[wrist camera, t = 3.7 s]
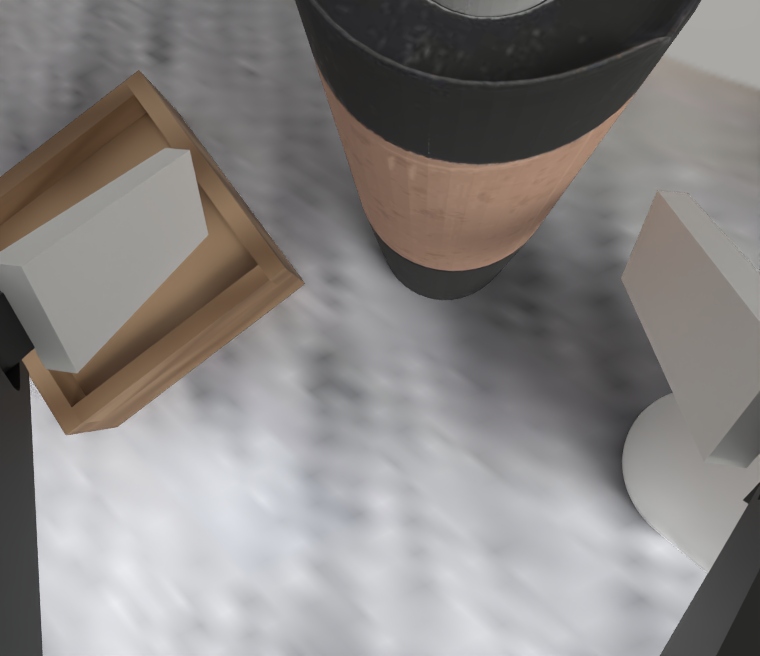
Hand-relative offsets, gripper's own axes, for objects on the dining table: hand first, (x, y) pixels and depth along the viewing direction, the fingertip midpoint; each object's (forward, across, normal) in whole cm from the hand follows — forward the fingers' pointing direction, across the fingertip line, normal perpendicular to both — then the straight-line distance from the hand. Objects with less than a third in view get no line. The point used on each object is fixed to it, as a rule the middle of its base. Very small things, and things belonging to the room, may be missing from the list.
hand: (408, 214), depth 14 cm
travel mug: (+12, +1, -7) cm, 14 cm away
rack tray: (+10, -16, -9) cm, 21 cm away
